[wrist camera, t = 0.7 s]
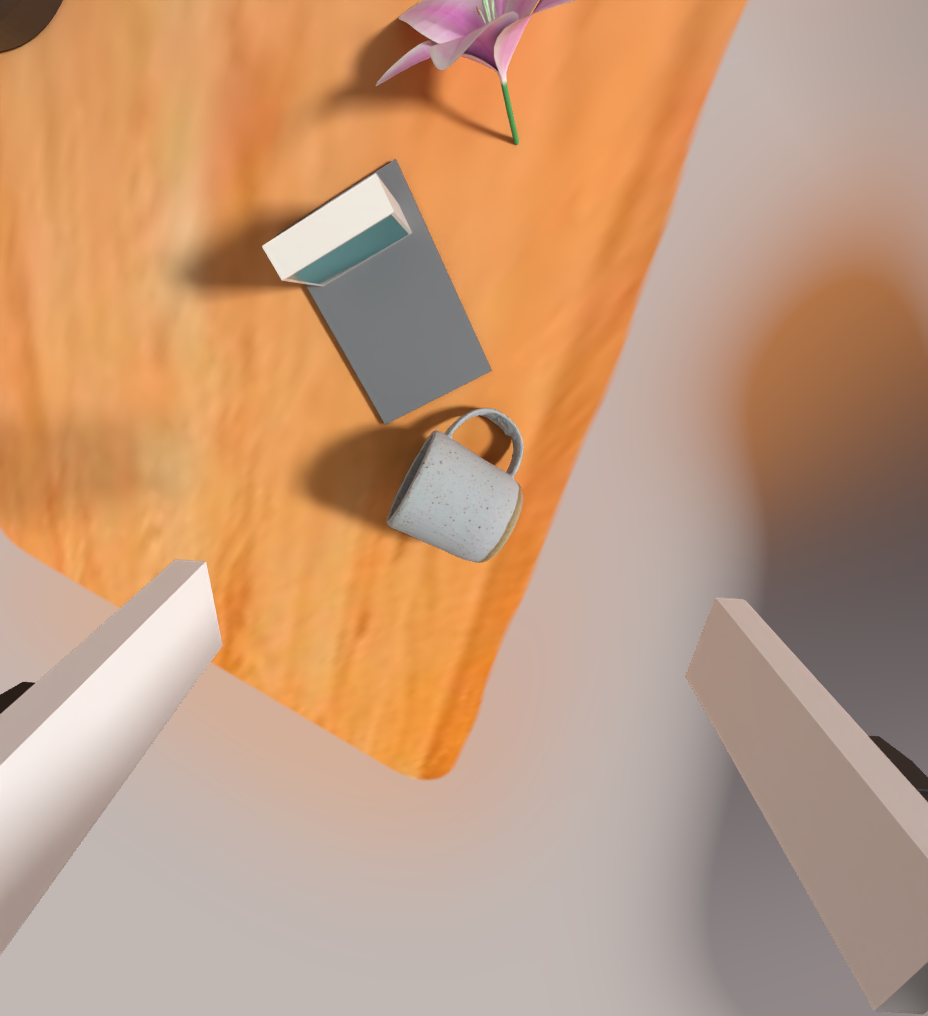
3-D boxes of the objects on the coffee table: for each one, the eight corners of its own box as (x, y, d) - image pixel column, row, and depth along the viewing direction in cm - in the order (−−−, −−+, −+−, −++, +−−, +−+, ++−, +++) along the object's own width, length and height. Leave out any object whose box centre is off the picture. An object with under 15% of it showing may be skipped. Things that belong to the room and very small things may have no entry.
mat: (279, 235, 30) (277, 234, 29) (396, 160, 28) (395, 158, 28) (386, 423, 35) (385, 424, 34) (491, 370, 33) (491, 370, 33)
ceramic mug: (479, 541, 39) (480, 591, 32) (393, 498, 37) (374, 540, 30) (546, 435, 35) (565, 465, 28) (453, 383, 34) (449, 400, 27)
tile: (307, 259, 30) (261, 246, 24) (398, 203, 29) (375, 173, 22) (322, 286, 31) (281, 280, 24) (412, 233, 29) (394, 211, 23)
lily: (628, 2, 26) (637, -284, 16) (602, 208, 26) (597, 39, 17) (434, 44, 29) (354, -170, 20) (412, 224, 30) (324, 93, 20)
